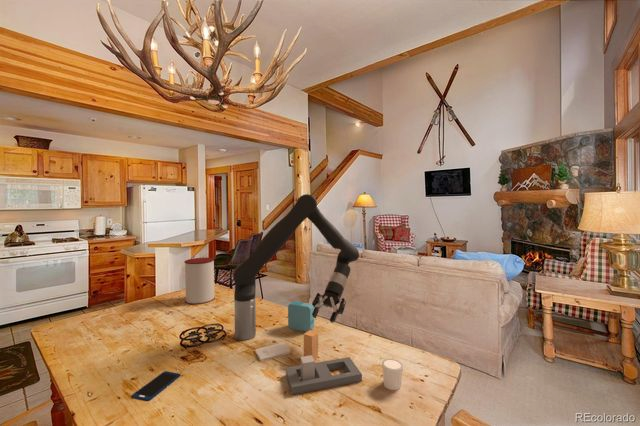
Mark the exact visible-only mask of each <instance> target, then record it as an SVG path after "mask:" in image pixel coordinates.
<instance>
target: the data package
mask: <svg viewBox="0 0 640 426" xmlns="http://www.w3.org/2000/svg"><path fill="white" fill-rule="evenodd" d="M313 311H314V306H313V305H312V303H310V302H302V301H296V300H295V301H292V302H291V303H289V304H288V305H287V323H288V324H287V326H288V328H290V329H291V330H292V329H293V330H297V331H301V332H305V333H306V332H308V331H309V330H311V331H312V329H314V327H315V318H314V317H313V316H312V313H313Z"/></svg>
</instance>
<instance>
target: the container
mask: <svg viewBox="0 0 640 426" xmlns="http://www.w3.org/2000/svg"><path fill="white" fill-rule="evenodd" d="M214 263H215V258H213V257H194V258H189V259H186V260H184V266H185V267H184V268H185V269H184V270H185V273H184V274H185V278H184V279H185V300H184V302H185V303H186V304H187V305H192V304H193V305H202V304H203V305H204V304H208V303H210V302H213V301H214V300H215V299H216V296H215V264H214Z"/></svg>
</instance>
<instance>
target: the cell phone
mask: <svg viewBox="0 0 640 426" xmlns="http://www.w3.org/2000/svg"><path fill="white" fill-rule="evenodd" d="M181 375H182V374H181V373H179V372H172V371H166V370H165V371H162V372H161V373H160V374H158V375H157V376H156V377H154V378H153V379H152V380H149V382H148V383H146V384H145V385H144V386H142V387H141V388H139V389H138V390H136V391H135V392H134V393H132V394H131V398H132V399H135V400H141V401H144V402H150V401H151V400H153V399H154V398H155V397H157V396H158V395H159V394H160V393H162V392H163V391H164V390H165V389H166V388H168V387H169V386H170V385H171V384H173V383H174V382H175V381H176V380H178V379H179V378H180V377H181ZM167 386H168V387H167Z"/></svg>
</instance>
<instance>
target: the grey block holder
mask: <svg viewBox="0 0 640 426" xmlns="http://www.w3.org/2000/svg"><path fill="white" fill-rule="evenodd" d="M340 369H341V370H342V369H344V371H345V373H338V374H333V375H332V373H331V371H334V370H340ZM285 375H286V379H287V382H288V386H289V389H290V393H291V396H293V395H299V394H303V393H309V392H314V391H319V390H325V389H330V388H333V387H338V386H344V385H351V384H355V383H360V382H362V381H363V379H362V378H363V374H362V372H361V371H360V369H359V368H358V367H357V365H356V364H355V362H354V361H353V360H352V359H351V357H350V356H348V357H341V358H335V359H329V360H323V361H317V362H316V360H315V361H314V359H313V356H312V355H310V356H304V355H303V356H300V364H299V365H294V366H287V367H286V368H285Z"/></svg>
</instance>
